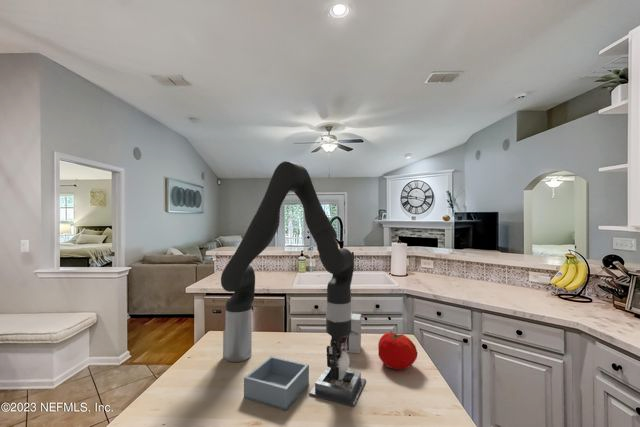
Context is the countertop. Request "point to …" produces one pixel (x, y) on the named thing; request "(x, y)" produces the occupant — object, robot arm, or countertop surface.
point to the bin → (276, 382)
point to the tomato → (396, 351)
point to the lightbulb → (342, 367)
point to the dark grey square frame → (339, 388)
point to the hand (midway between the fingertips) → (338, 373)
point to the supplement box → (355, 334)
